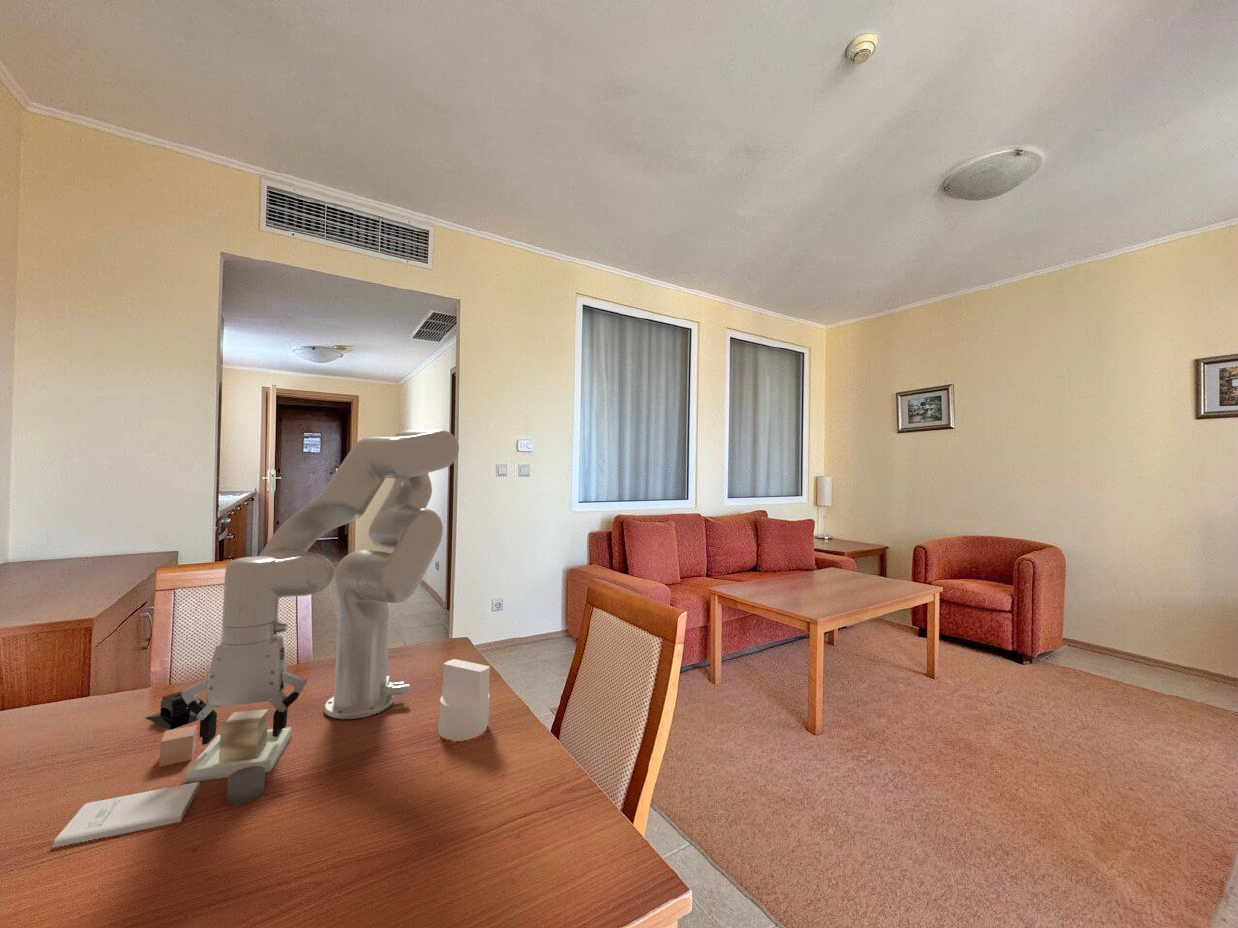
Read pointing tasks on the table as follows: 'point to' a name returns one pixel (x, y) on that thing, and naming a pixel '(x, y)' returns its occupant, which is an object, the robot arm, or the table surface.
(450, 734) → the white rounded pedestal block
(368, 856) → the table surface
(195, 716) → the black boxy piece
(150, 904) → the table surface
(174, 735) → the terracotta cube
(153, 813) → the external hard drive
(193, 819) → the table surface
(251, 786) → the grey rounded lump
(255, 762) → the tray
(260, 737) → the beech block
